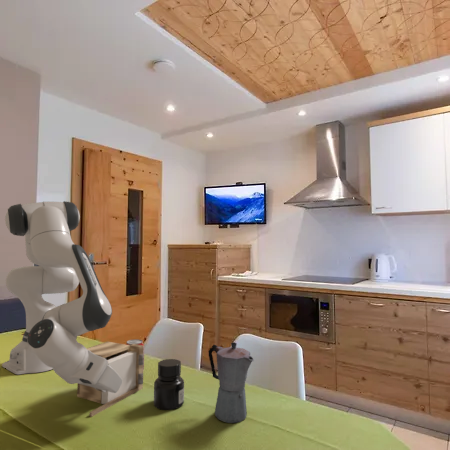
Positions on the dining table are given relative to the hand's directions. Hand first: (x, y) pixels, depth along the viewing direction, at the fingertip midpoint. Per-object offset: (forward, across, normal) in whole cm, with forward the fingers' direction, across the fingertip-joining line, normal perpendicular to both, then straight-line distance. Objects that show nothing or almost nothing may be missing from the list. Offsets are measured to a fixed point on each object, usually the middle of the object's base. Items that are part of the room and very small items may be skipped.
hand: (103, 388), depth 98 cm
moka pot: (+12, +35, +5) cm, 38 cm away
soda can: (+20, -9, +13) cm, 25 cm away
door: (+8, 0, +1) cm, 8 cm away
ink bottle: (+11, +16, +3) cm, 20 cm away
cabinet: (+6, -4, 0) cm, 8 cm away
